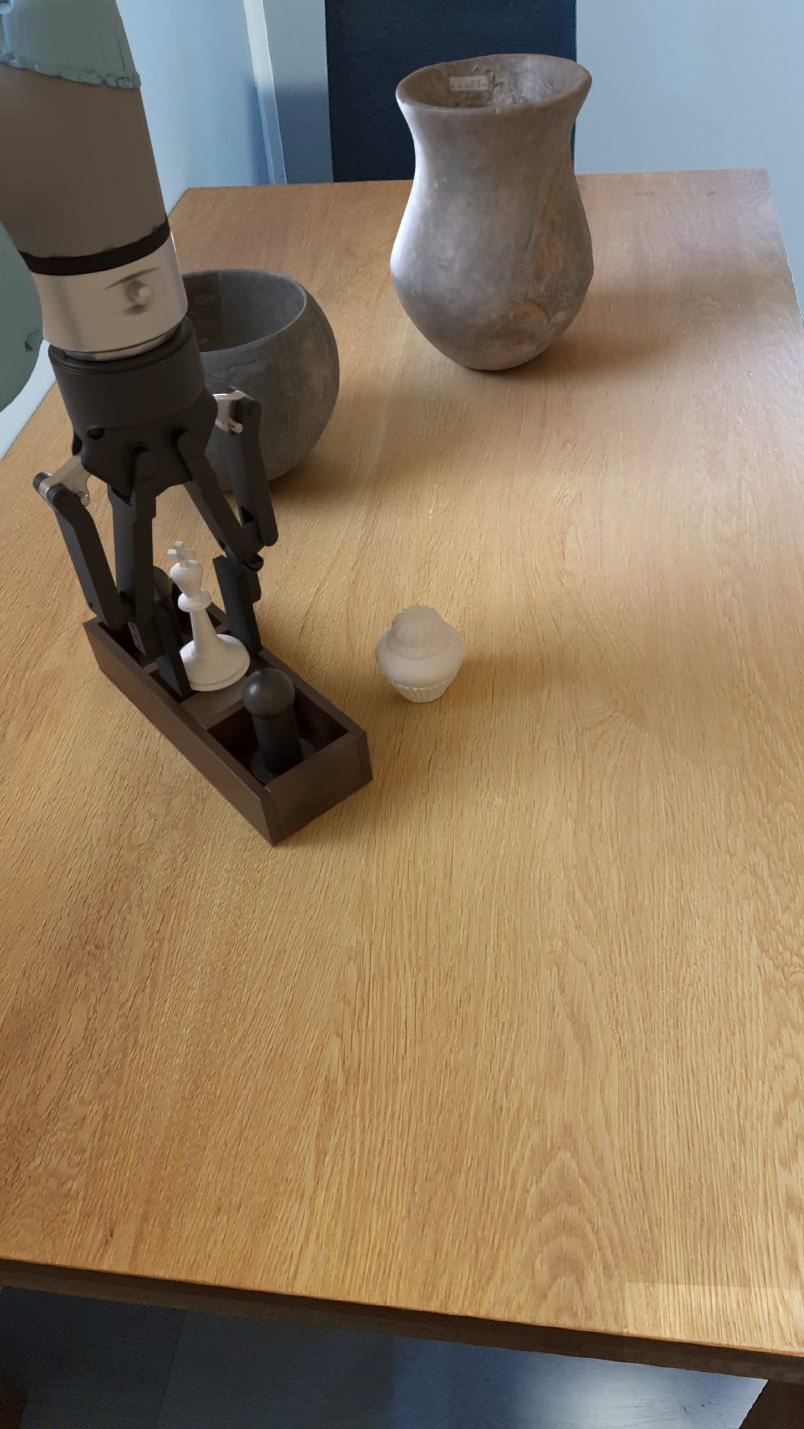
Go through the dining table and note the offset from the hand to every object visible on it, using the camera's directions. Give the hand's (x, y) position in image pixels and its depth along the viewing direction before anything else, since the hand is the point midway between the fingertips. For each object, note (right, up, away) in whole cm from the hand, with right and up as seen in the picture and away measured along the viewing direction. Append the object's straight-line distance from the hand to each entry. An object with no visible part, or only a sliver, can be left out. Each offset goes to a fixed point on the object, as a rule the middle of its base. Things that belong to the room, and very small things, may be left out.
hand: (212, 662), depth 71 cm
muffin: (+14, -2, +5) cm, 15 cm away
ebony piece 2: (+5, -7, -1) cm, 9 cm away
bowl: (-2, +19, +27) cm, 33 cm away
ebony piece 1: (-4, 0, +8) cm, 9 cm away
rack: (0, -4, +4) cm, 6 cm away
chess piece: (0, 0, 0) cm, 1 cm away
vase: (+22, +33, +38) cm, 55 cm away
